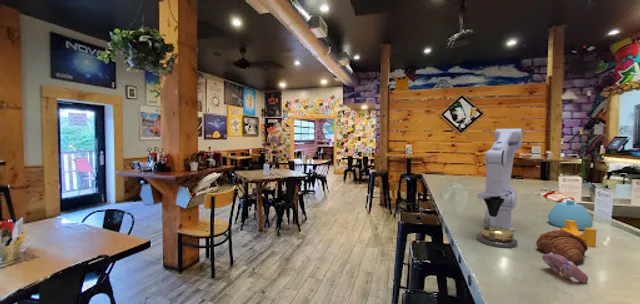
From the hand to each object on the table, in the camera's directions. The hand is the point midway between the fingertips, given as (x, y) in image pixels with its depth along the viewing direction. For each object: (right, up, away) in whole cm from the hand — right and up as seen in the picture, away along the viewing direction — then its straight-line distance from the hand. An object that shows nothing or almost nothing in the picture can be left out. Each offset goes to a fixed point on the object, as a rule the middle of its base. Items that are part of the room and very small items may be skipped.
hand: (492, 216), depth 111 cm
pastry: (+15, -10, -13) cm, 22 cm away
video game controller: (+2, -10, -30) cm, 32 cm away
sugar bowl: (+44, -8, +17) cm, 48 cm away
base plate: (-1, -9, -3) cm, 9 cm away
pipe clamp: (+31, -9, -1) cm, 32 cm away
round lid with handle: (-1, -7, -3) cm, 8 cm away
